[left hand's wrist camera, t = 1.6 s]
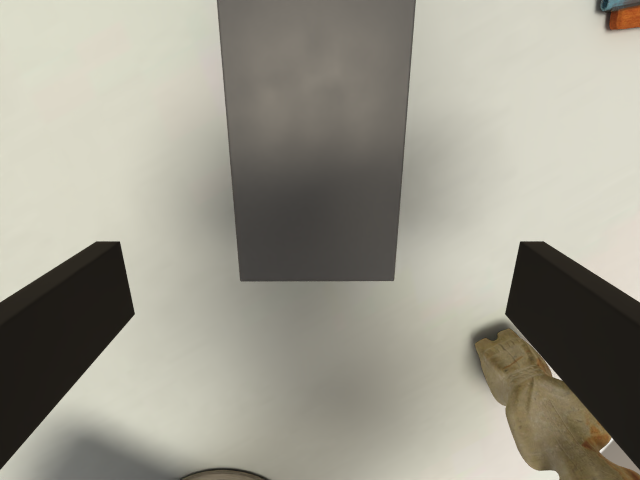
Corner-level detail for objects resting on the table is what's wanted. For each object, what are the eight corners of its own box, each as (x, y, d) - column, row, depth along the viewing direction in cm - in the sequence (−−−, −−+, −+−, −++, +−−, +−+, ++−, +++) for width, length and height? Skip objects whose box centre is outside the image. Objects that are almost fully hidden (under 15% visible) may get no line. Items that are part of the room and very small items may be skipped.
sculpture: (481, 393, 35) (589, 586, 21) (457, 336, 33) (561, 508, 19) (541, 372, 34) (695, 557, 20) (521, 311, 32) (679, 473, 18)
